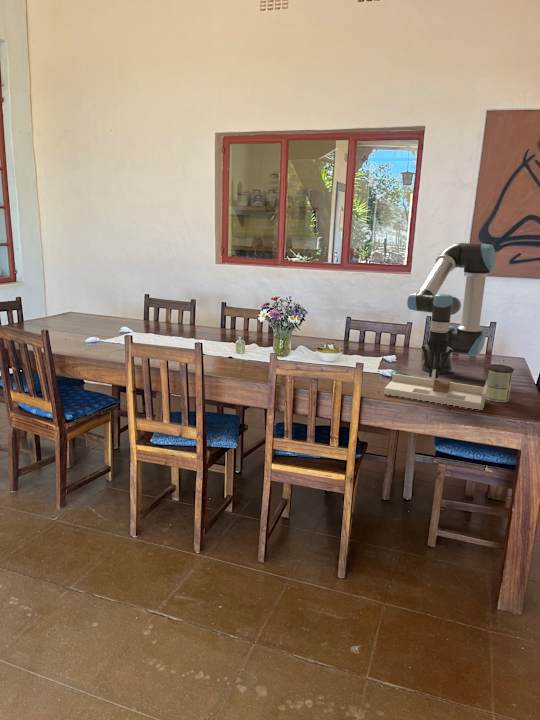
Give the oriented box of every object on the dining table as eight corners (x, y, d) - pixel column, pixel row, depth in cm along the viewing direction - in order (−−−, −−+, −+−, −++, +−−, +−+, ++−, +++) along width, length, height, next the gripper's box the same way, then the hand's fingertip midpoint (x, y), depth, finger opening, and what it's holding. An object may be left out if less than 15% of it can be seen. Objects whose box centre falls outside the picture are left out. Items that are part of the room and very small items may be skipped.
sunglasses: (393, 377, 254) (395, 367, 253) (423, 385, 248) (426, 376, 247) (385, 384, 242) (387, 374, 241) (417, 393, 236) (419, 383, 234)
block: (434, 388, 228) (435, 379, 227) (448, 390, 226) (450, 381, 225) (432, 390, 224) (433, 381, 223) (447, 393, 221) (448, 384, 220)
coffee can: (479, 394, 232) (483, 363, 228) (502, 395, 232) (506, 364, 229) (489, 402, 222) (494, 370, 218) (513, 402, 222) (518, 370, 219)
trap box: (391, 386, 239) (393, 371, 237) (485, 401, 223) (487, 385, 221) (384, 394, 226) (385, 379, 224) (482, 411, 210) (485, 394, 208)
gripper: (422, 330, 220) (415, 384, 226) (454, 334, 215) (447, 389, 220) (425, 328, 227) (418, 380, 232) (456, 331, 221) (449, 384, 227)
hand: (432, 384), depth 226 cm, fingers closed
